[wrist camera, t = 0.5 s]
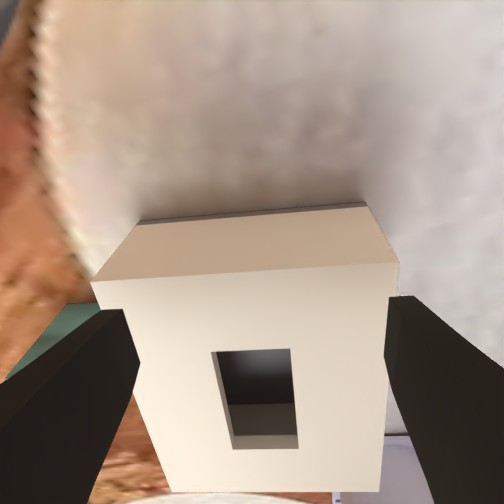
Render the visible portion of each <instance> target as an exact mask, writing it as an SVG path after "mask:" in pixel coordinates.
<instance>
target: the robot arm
mask: <svg viewBox="0 0 504 504" xmlns="http://www.w3.org/2000/svg"><path fill="white" fill-rule="evenodd" d="M383 356H384V360H385V364H386V369H387V373H388V377H389V381H390V384H391V388H392V392H393V395H394V397H395V400H396V403H397V405H398V408H399V411H400V413H401V416H402V419H403V421H404V424H405V426H406V429H407V432H408V434H409V436H384V442H383V453H382V465H381V476H380V487H379V492H332V504H504V368H503V367H501V366H500V365H498V364H497V363H496V362H494V361H493V360H492V359H490V358H489V357H488V356H487V355H485V354H484V353H483V352H481V351H480V350H479V349H477V348H476V347H475V346H474V345H472V344H471V343H470V342H469V341H467V340H466V339H465V338H464V337H462V336H461V335H460V334H459V333H457V332H456V331H455V330H454V329H453V328H451V327H450V326H449V325H448V324H447V323H445V322H444V321H443V320H442V319H441V318H439V317H438V316H437V315H436V314H435V313H433V312H432V311H431V310H430V309H429V308H428V307H426V306H425V305H424V304H423V303H422V302H420V301H419V300H418V299H417V298H416V297H414V296H397V297H389V302H388V312H387V323H386V334H385V344H384V355H383ZM140 363H141V362H140V359H139V356H138V353H137V350H136V347H135V344H134V341H133V338H132V335H131V332H130V329H129V326H128V323H127V320H126V317H125V314H124V311H123V309H105V310H101V311H99V312H98V313H96V314H95V315H93V316H92V317H90V318H89V319H88V320H86V321H85V322H84V323H82V324H81V325H80V326H78V327H77V328H76V329H74V330H73V331H72V332H70V333H69V334H68V335H66V336H65V337H64V338H63V339H61V340H60V341H59V342H57V343H56V344H55V345H53V346H52V347H51V348H49V349H48V350H47V351H45V352H44V353H43V354H41V355H40V356H39V357H37V358H36V359H35V360H33V361H32V362H31V363H29V364H28V365H27V366H25V367H24V368H22V369H21V370H19V371H18V372H17V373H15V374H14V375H12V376H11V377H10V378H8V379H7V380H5V381H4V382H3V383H1V384H0V504H87V502H88V499H89V497H90V494H91V491H92V489H93V486H94V484H95V481H96V479H97V476H98V474H99V472H100V469H101V467H102V465H103V462H104V460H105V458H106V455H107V453H108V451H109V448H110V446H111V444H112V441H113V439H114V437H115V434H116V432H117V430H118V427H119V425H120V423H121V420H122V418H123V415H124V413H125V411H126V408H127V406H128V403H129V401H130V399H131V396H132V392H133V389H134V386H135V382H136V379H137V375H138V371H139V367H140Z"/></svg>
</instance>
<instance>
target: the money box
mask: <svg viewBox="0 0 504 504" xmlns="http://www.w3.org/2000/svg"><path fill="white" fill-rule="evenodd" d="M398 273H399V260H398V258H397V256H396V255H395V253H394V251H393V249H392V248H391V246H390V244H389V243H388V241H387V239H386V237H385V236H384V234H383V232H382V230H381V229H380V227H379V225H378V223H377V222H376V220H375V218H374V216H373V215H372V213H371V211H370V209H369V208H368V206H367V204H366V202H359V203H347V204H335V205H323V206H311V207H300V208H288V209H276V210H264V211H252V212H240V213H228V214H216V215H204V216H192V217H180V218H169V219H157V220H145V221H139V222H138V223H137V224H136V226H135V227H134V228H133V229H132V231H131V232H130V233H129V234H128V236H127V237H126V238H125V239H124V241H123V242H122V243H121V244H120V246H119V247H118V248H117V249H116V251H115V252H114V253H113V254H112V255H111V257H110V258H109V259H108V260H107V262H106V263H105V264H104V265H103V267H102V268H101V269H100V270H99V272H98V273H97V274H96V275H95V277H94V278H93V279H92V280H91V282H90V283H91V286H92V288H93V291H94V293H95V296H96V299H97V301H98V304H99V306H100V309H101V310H105V309H123V311H124V314H125V317H126V320H127V323H128V326H129V329H130V332H131V335H132V338H133V341H134V344H135V347H136V350H137V353H138V356H139V359H140V362H141V363H140V367H139V371H138V375H137V379H136V382H135V386H134V389H133V394H134V396H135V399H136V401H137V404H138V407H139V409H140V412H141V414H142V417H143V419H144V422H145V425H146V427H147V430H148V432H149V435H150V437H151V440H152V443H153V445H154V448H155V450H156V453H157V455H158V458H159V461H160V463H161V466H162V468H163V471H164V473H165V476H166V479H167V481H168V484H169V486H170V489H171V491H172V492H379V487H380V476H381V465H382V453H383V442H384V431H385V419H386V408H387V397H388V386H389V377H388V373H387V369H386V364H385V360H384V356H383V355H384V344H385V334H386V323H387V312H388V302H389V297H396V295H397V284H398Z"/></svg>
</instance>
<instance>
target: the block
mask: <svg viewBox="0 0 504 504" xmlns="http://www.w3.org/2000/svg"><path fill="white" fill-rule="evenodd" d="M99 311H101V309H100V306H99V304H98V303H82V304H66V306H65V307H64V308H63V309H62V310H61V312H60V313H59V314H58V315H57V316H56V318H55V319H54V320H53V321H52V322H51V324H50V325H49V326H48V327H47V328H46V330H45V331H44V332H43V333H42V334H41V336H40V337H39V338H38V339H37V340H36V342H35V343H34V344H33V345H32V346H31V348H30V349H29V350H28V351H27V352H26V354H25V355H24V356H23V357H22V358H21V360H20V361H19V362H18V363H17V365H16V366H15V367H14V368H13V369H12V371H11V372H10V373H9V374H8V375H7V377H6V378H5V380H7V379H8V378H10V377H11V376H12V375H14V374H15V373H17V372H18V371H19V370H21V369H22V368H24V367H25V366H27V365H28V364H29V363H31V362H32V361H33V360H35V359H36V358H37V357H39V356H40V355H41V354H43V353H44V352H45V351H47V350H48V349H49V348H51V347H52V346H53V345H55V344H56V343H57V342H59V341H60V340H61V339H63V338H64V337H65V336H66V335H68V334H69V333H70V332H72V331H73V330H74V329H76V328H77V327H78V326H80V325H81V324H82V323H84V322H85V321H86V320H88V319H89V318H90V317H92V316H93V315H95V314H96V313H98V312H99Z"/></svg>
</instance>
